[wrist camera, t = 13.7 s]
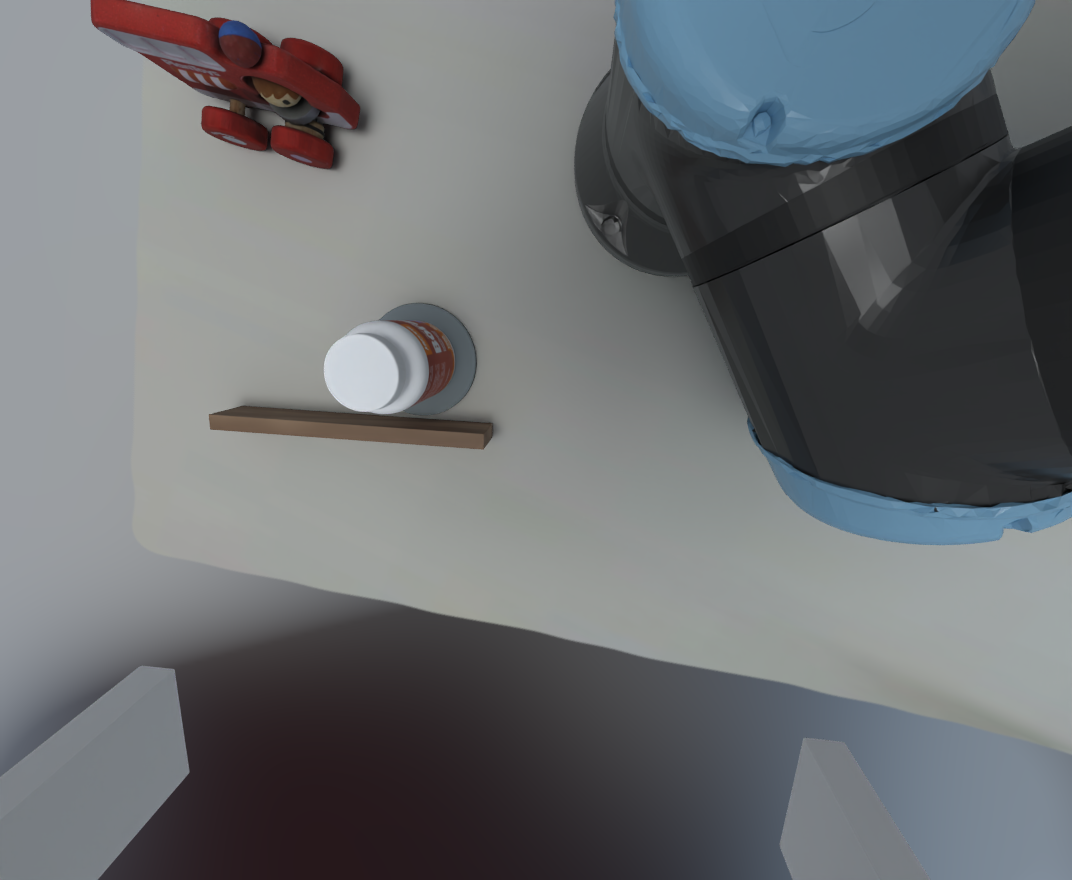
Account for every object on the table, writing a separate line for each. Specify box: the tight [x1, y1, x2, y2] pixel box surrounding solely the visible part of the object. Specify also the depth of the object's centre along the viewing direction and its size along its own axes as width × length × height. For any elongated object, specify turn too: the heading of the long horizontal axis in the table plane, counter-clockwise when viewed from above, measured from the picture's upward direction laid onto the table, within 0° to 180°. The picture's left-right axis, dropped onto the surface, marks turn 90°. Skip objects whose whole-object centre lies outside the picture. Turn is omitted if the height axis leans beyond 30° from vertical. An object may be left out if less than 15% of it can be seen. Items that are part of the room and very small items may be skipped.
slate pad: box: [380, 303, 476, 415], centre depth 40 cm, size 9×9×1 cm
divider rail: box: [209, 406, 493, 449], centre depth 40 cm, size 1×22×4 cm, turn 88°
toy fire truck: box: [91, 0, 360, 169], centre depth 32 cm, size 7×12×10 cm, turn 76°
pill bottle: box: [324, 320, 455, 414], centre depth 35 cm, size 6×6×11 cm
